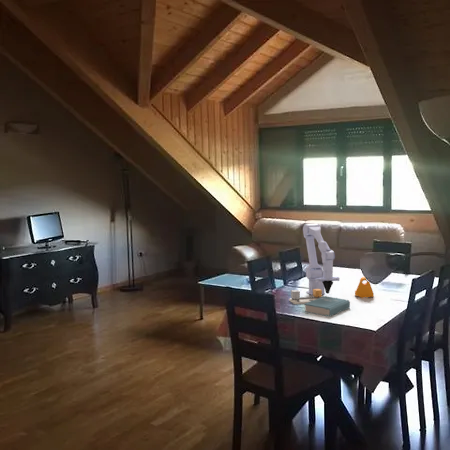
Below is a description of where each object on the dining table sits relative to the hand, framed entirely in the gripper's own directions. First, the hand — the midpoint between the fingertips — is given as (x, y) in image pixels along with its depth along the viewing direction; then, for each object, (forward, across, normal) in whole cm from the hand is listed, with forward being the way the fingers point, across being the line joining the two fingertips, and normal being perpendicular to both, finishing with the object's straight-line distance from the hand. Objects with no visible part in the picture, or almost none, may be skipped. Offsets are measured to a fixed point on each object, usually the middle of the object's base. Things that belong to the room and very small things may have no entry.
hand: (327, 292), depth 333 cm
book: (+5, -10, -23) cm, 25 cm away
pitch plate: (+4, -12, -2) cm, 13 cm away
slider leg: (+2, -7, -1) cm, 7 cm away
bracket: (+4, +26, +2) cm, 26 cm away
